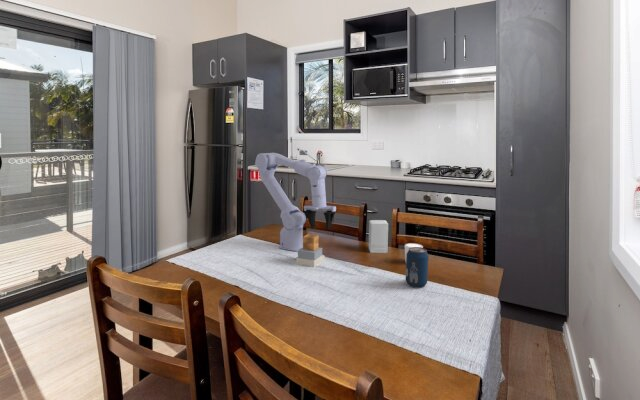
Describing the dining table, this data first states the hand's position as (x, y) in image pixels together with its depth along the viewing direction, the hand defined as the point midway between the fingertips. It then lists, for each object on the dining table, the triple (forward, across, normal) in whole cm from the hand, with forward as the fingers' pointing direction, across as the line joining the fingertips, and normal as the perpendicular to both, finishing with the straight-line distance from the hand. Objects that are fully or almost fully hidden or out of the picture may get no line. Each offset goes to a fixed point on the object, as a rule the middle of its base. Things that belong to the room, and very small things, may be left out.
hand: (320, 228), depth 162 cm
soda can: (+14, +44, -12) cm, 48 cm away
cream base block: (+11, +2, -13) cm, 17 cm away
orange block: (+5, +3, -12) cm, 14 cm away
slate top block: (+8, +3, -13) cm, 16 cm away
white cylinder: (+14, +36, +8) cm, 39 cm away
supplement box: (+12, +18, +16) cm, 27 cm away
